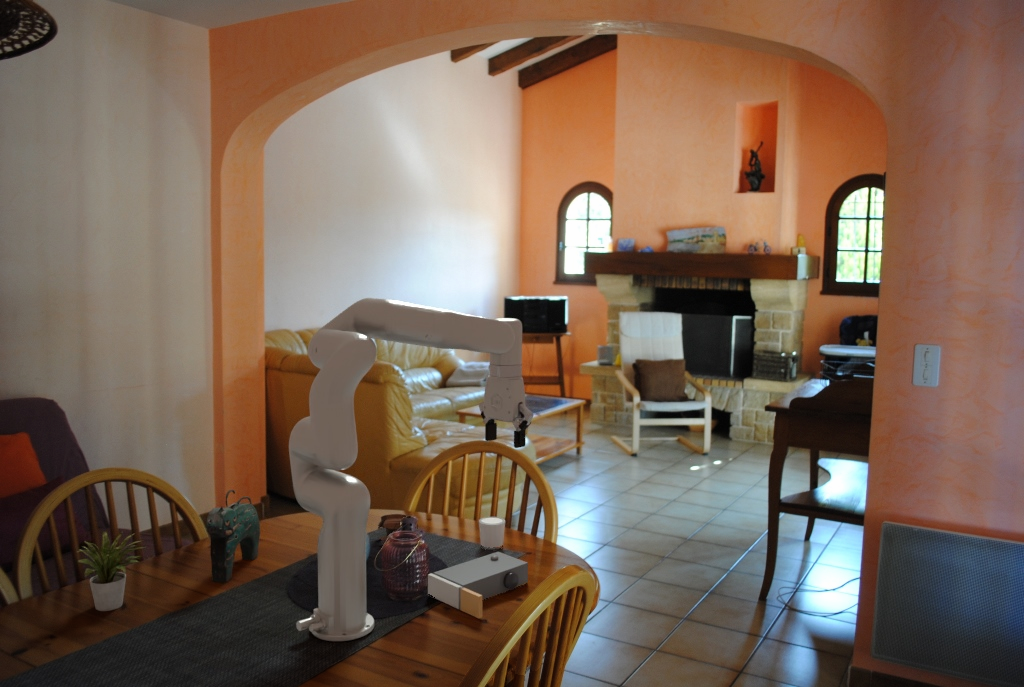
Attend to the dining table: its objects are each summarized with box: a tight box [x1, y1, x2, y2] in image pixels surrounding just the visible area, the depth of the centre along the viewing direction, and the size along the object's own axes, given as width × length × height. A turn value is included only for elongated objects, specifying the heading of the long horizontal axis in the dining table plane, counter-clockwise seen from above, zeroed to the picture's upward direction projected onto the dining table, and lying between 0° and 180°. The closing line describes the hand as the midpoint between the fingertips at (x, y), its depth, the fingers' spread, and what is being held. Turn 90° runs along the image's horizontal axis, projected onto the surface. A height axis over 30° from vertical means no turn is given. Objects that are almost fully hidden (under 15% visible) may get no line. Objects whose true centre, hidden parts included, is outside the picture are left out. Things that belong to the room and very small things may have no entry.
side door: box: [427, 572, 483, 619], centre depth 183 cm, size 1×17×5 cm, turn 44°
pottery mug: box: [377, 513, 419, 542], centre depth 225 cm, size 12×10×8 cm
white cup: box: [478, 516, 506, 548], centre depth 221 cm, size 7×7×7 cm
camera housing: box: [433, 551, 529, 601], centre depth 192 cm, size 20×11×6 cm, turn 134°
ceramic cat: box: [206, 489, 261, 584], centre depth 203 cm, size 20×6×20 cm, turn 171°
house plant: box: [77, 530, 146, 612], centre depth 180 cm, size 14×14×16 cm
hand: (505, 443), depth 200 cm, fingers open, 9 cm apart
